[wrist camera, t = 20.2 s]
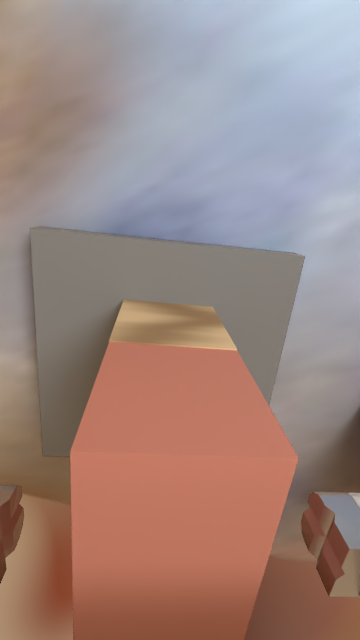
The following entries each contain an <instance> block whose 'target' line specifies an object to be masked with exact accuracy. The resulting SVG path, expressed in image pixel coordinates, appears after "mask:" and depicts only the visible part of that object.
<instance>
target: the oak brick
mask: <svg viewBox="0 0 360 640" xmlns="http://www.w3.org/2000/svg"><path fill="white" fill-rule="evenodd" d="M109 342H118V343H133V344H148V345H163V346H177V347H192V348H207V349H222V350H237V348H236V346H235V344H234V343H233V341H232V339H231V337H230V336H229V334H228V332H227V331H226V329H225V327H224V325H223V324H222V322H221V320H220V318H219V317H218V315H217V313H216V312H215V310H214V308H213V307H209V306H197V305H185V304H173V303H160V302H148V301H136V300H123V303H122V306H121V308H120V311H119V314H118V317H117V319H116V322H115V325H114V328H113V331H112V333H111V336H110V339H109Z"/></svg>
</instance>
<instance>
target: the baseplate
mask: <svg viewBox="0 0 360 640" xmlns="http://www.w3.org/2000/svg"><path fill="white" fill-rule="evenodd" d="M30 238H31V256H32V274H33V291H34V309H35V327H36V345H37V363H38V381H39V399H40V417H41V435H42V453H43V456H53V457H70V451H71V448H72V445H73V442H74V439H75V437H76V434H77V431H78V428H79V425H80V423H81V420H82V417H83V414H84V411H85V408H86V406H87V403H88V400H89V397H90V394H91V392H92V389H93V386H94V383H95V380H96V378H97V375H98V372H99V369H100V366H101V363H102V361H103V358H104V355H105V352H106V349H107V347H108V344H109V339H110V336H111V333H112V331H113V328H114V325H115V322H116V319H117V317H118V314H119V311H120V308H121V306H122V303H123V300H136V301H148V302H160V303H173V304H185V305H197V306H209V307H213V308H214V310H215V312H216V313H217V315H218V317H219V318H220V320H221V322H222V324H223V325H224V327H225V329H226V331H227V332H228V334H229V336H230V337H231V339H232V341H233V343H234V344H235V346H236V348H237V351H238V353H239V355H240V356H241V358H242V360H243V362H244V363H245V365H246V367H247V369H248V370H249V372H250V374H251V376H252V377H253V379H254V381H255V383H256V384H257V386H258V388H259V390H260V391H261V393H262V395H263V396H264V398H265V400H266V402H267V403H268V405H269V403H270V399H271V394H272V390H273V386H274V382H275V378H276V374H277V370H278V366H279V362H280V358H281V353H282V349H283V345H284V341H285V337H286V333H287V329H288V325H289V321H290V316H291V312H292V308H293V304H294V300H295V296H296V292H297V288H298V284H299V279H300V275H301V271H302V267H303V263H304V259H305V256H302V255H299V254H296V253H289V252H279V251H270V250H260V249H251V248H241V247H232V246H222V245H212V244H203V243H193V242H184V241H174V240H165V239H155V238H145V237H136V236H126V235H117V234H107V233H98V232H88V231H78V230H69V229H59V228H50V227H40V226H39V227H32V228H30Z"/></svg>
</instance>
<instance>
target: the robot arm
mask: <svg viewBox="0 0 360 640" xmlns="http://www.w3.org/2000/svg"><path fill="white" fill-rule="evenodd" d="M21 497H22V490H21V486H8V485H0V583H1V581H2V578H3V576H4V574H5V571H6V562H5V558H6V557H7V556H8V555H9V554H10V553H11V552H12V551H14V550H15V547H16V545H17V542H18V540H19V537H20V534H21V530H22V526H23V519H24V510H23V507H22V506H21V505H19V502H20V500H21ZM308 503H309V505H310V508H309V509H307V510H306V511H305V512H304V513H303V517H302V520H301V525H302V534H303V538H304V541H305V544H306V546H307V548H308V550H309V551H310V552H311V553H312V554H313V555H314V556H315V557H316V558H317V565H316V569H317V571H318V573H319V575H320V578H321V580H322V582H323V584H324V587H325V589H326V591H327V593H328V596H329V597H360V493H344V492H313V493H312V494H310V496H309V499H308Z"/></svg>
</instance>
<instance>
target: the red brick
mask: <svg viewBox="0 0 360 640" xmlns="http://www.w3.org/2000/svg"><path fill="white" fill-rule="evenodd" d="M298 459H299V458H298V456H297V454H296V452H295V451H294V449H293V447H292V445H291V444H290V442H289V440H288V438H287V437H286V435H285V433H284V431H283V430H282V428H281V426H280V424H279V423H278V421H277V419H276V417H275V416H274V414H273V412H272V410H271V409H270V407H269V405H268V403H267V402H266V400H265V398H264V396H263V395H262V393H261V391H260V390H259V388H258V386H257V384H256V383H255V381H254V379H253V377H252V376H251V374H250V372H249V370H248V369H247V367H246V365H245V363H244V362H243V360H242V358H241V356H240V355H239V353H238V351H237V350H222V349H207V348H192V347H177V346H163V345H148V344H133V343H118V342H109V344H108V347H107V349H106V352H105V355H104V358H103V361H102V363H101V366H100V369H99V372H98V375H97V378H96V380H95V383H94V386H93V389H92V392H91V394H90V397H89V400H88V403H87V406H86V408H85V411H84V414H83V417H82V420H81V423H80V425H79V428H78V431H77V434H76V437H75V439H74V442H73V445H72V448H71V451H70V467H71V522H72V523H71V525H72V581H73V635H74V637H73V640H244V637H245V634H246V630H247V627H248V624H249V621H250V617H251V614H252V611H253V608H254V604H255V601H256V598H257V594H258V591H259V588H260V585H261V581H262V578H263V575H264V571H265V568H266V565H267V561H268V558H269V555H270V552H271V548H272V545H273V542H274V538H275V535H276V532H277V528H278V525H279V522H280V519H281V515H282V512H283V509H284V505H285V502H286V499H287V496H288V492H289V489H290V486H291V482H292V479H293V476H294V472H295V469H296V466H297V463H298Z"/></svg>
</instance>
